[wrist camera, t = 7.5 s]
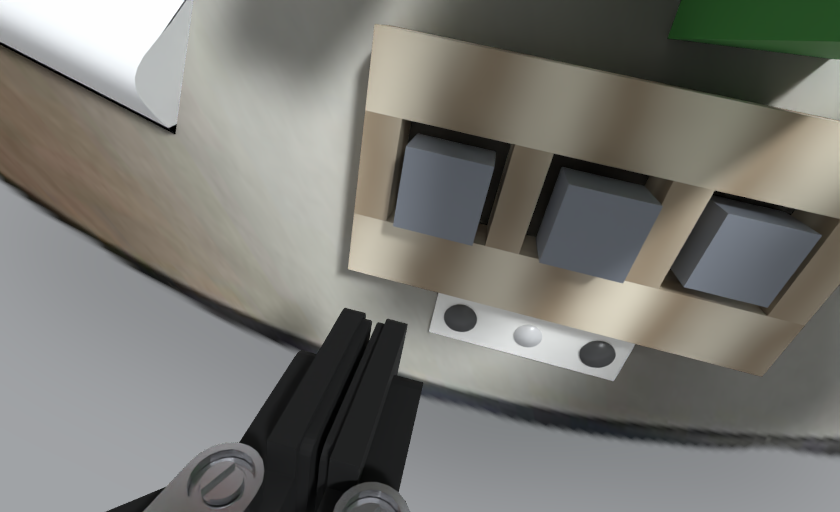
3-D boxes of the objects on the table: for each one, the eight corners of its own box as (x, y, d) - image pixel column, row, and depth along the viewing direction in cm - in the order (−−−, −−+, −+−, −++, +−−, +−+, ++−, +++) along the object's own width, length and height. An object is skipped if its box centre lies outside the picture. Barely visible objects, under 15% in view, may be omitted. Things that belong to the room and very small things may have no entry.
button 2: (785, 212, 22) (822, 235, 20) (739, 278, 24) (767, 307, 22) (703, 193, 23) (728, 213, 20) (665, 260, 25) (683, 286, 22)
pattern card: (636, 337, 28) (638, 341, 28) (612, 378, 30) (613, 382, 30) (439, 286, 29) (439, 289, 29) (429, 329, 31) (428, 332, 31)
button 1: (496, 151, 22) (494, 166, 20) (476, 223, 24) (472, 246, 22) (417, 133, 23) (406, 146, 20) (404, 206, 25) (392, 226, 22)
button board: (897, 132, 20) (954, 147, 18) (737, 344, 27) (762, 376, 25) (390, 25, 22) (374, 24, 20) (362, 248, 29) (347, 269, 26)
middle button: (644, 185, 22) (662, 206, 19) (610, 256, 24) (623, 283, 21) (561, 166, 22) (569, 184, 19) (535, 238, 24) (539, 262, 22)
